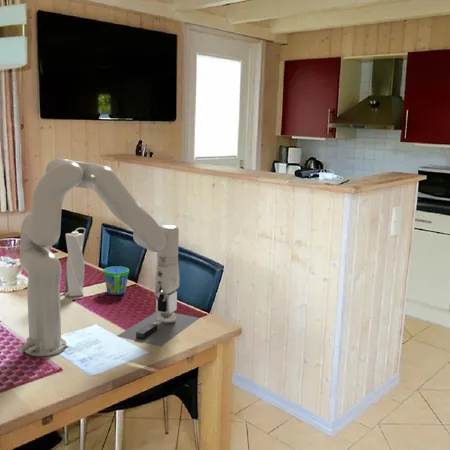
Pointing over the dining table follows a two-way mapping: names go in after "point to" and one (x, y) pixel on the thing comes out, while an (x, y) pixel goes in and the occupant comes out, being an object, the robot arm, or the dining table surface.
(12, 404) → the dining table surface
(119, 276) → the snack cup
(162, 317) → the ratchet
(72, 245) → the skyscraper
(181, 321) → the tool mat
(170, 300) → the light grey block
